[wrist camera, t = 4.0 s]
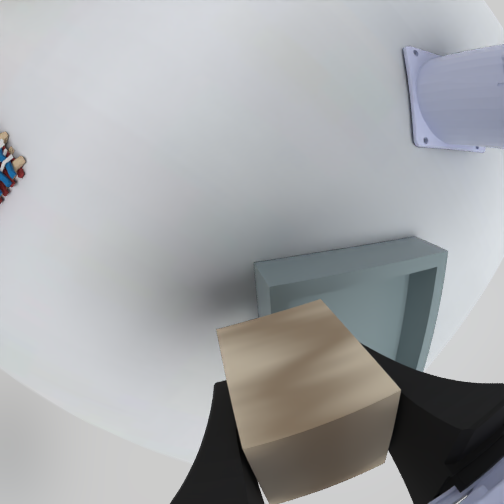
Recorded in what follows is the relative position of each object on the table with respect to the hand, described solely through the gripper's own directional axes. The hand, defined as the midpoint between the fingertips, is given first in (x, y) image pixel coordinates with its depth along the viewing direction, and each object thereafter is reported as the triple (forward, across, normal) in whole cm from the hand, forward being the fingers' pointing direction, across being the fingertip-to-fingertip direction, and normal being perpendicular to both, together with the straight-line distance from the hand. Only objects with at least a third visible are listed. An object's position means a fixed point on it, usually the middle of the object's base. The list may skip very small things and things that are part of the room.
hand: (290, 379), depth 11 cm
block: (+2, 0, 0) cm, 2 cm away
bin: (+9, -6, +6) cm, 13 cm away
